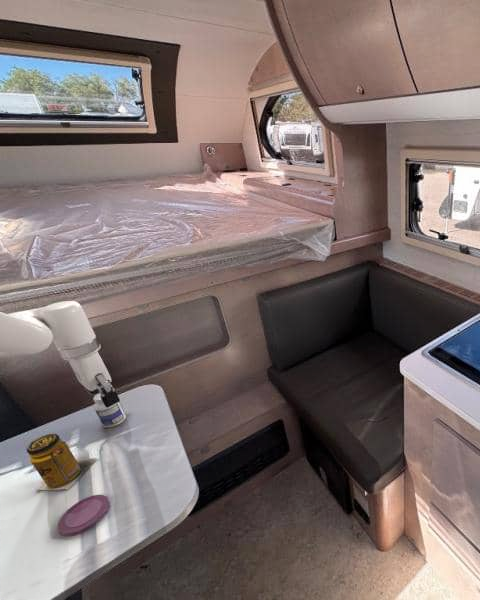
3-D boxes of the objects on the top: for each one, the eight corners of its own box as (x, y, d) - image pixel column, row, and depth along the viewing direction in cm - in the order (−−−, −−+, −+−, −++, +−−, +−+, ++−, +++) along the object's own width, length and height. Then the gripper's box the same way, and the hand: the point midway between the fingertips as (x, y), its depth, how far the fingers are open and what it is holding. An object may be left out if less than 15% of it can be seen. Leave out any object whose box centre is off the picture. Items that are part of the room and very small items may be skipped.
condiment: (36, 490, 76) (10, 454, 70) (68, 459, 83) (47, 424, 78) (68, 489, 76) (45, 454, 71) (98, 458, 83) (79, 424, 78)
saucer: (66, 544, 65) (65, 542, 65) (52, 521, 69) (50, 519, 69) (116, 509, 72) (115, 506, 72) (101, 490, 76) (99, 487, 75)
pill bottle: (106, 417, 96) (94, 391, 92) (128, 412, 98) (117, 386, 94) (99, 430, 92) (86, 404, 88) (123, 424, 94) (110, 398, 90)
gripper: (49, 344, 86) (77, 394, 93) (73, 365, 77) (102, 418, 85) (85, 331, 91) (108, 379, 99) (111, 350, 83) (135, 401, 91)
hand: (105, 397), depth 92 cm, fingers open, 9 cm apart
